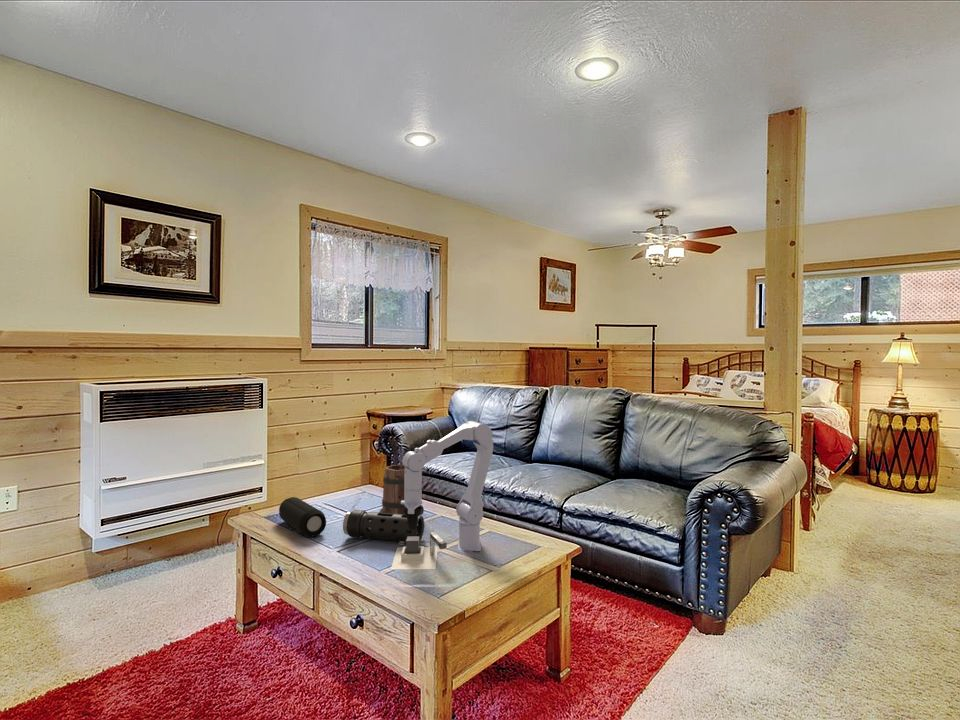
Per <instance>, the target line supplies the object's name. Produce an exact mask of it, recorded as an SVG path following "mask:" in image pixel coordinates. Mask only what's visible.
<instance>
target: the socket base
mask: <svg viewBox="0 0 960 720" xmlns="http://www.w3.org/2000/svg"><path fill="white" fill-rule="evenodd" d="M438 549H439V546H435V555H434V556H430V546H424V545H423V546H422V545H421V546H420V545H419V554H406V546H400V547H399V546H398V547H396V551H395V554H394V557H393V561H392V564H391V567H390V570H392V571H393V570H394V571H395V570H396V571H397V570H402V571H403V570H405V571H406V570H436V568H437V558H438Z"/></svg>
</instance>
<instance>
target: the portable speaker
mask: <svg viewBox="0 0 960 720" xmlns="http://www.w3.org/2000/svg"><path fill="white" fill-rule="evenodd" d="M278 514H279V517H280V519H281V520H282V521H284V522H285V523H287V524H288V525H289V526H290V527H292V528H293V529H295V530H297V532H298V531H299V533H301V534H302V535H304V536H305V537H308V538H309V537H315V536H316V537H317V536H319V535H320V534H321V533H323V531H324V530H325V528H326V527H327V519H326V516H325V513H324V512H323V511H321V510H319V508H316V507H314V506H313V505H311V504H309V503H307V502H306V501H303V500H302V499H300V498H299V497H295V496H291V497H288V498H286V499H283V501H282V502H281V503H280V505H279V507H278Z"/></svg>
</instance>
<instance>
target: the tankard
mask: <svg viewBox="0 0 960 720" xmlns="http://www.w3.org/2000/svg"><path fill="white" fill-rule="evenodd" d="M404 474H405V467H404V465H403V464H393V465H388V466H386V467H385V469H384V475H383V478H382V481H383V488H382V490H383V491H382V500H381V508H380V510H379V512H378V513H392V514H405V512H404V508H405V505H404V504H401V501H403V500H404ZM421 506H422V508H421V512H420V514H419V516H422V515H423V513H424V511H425V510H424V509H425V508H424V506H423V504H421ZM405 515H406V514H405Z"/></svg>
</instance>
